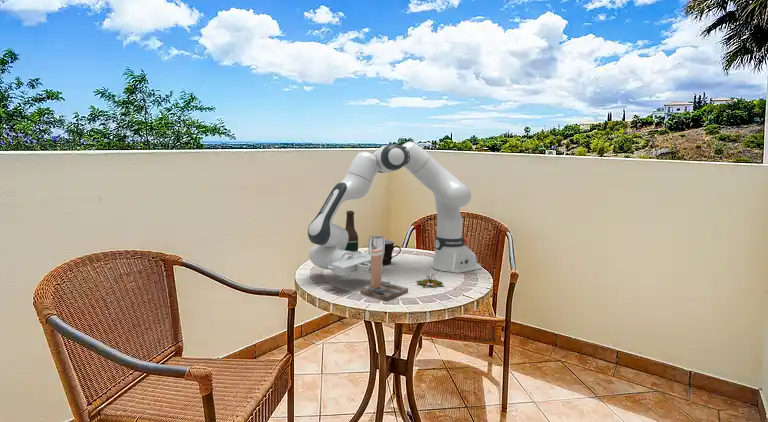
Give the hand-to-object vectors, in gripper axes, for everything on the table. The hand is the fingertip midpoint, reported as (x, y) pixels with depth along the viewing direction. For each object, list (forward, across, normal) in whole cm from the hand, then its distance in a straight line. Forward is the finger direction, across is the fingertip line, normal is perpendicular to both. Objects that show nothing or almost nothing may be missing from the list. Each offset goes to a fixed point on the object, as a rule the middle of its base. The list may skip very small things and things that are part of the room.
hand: (371, 268), depth 167 cm
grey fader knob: (+3, +5, +7) cm, 9 cm away
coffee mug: (-19, +35, +9) cm, 40 cm away
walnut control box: (+5, +1, +8) cm, 10 cm away
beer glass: (-15, +22, +9) cm, 28 cm away
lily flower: (+12, +22, +9) cm, 27 cm away
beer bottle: (-31, +23, +9) cm, 40 cm away
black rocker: (+7, -4, +6) cm, 10 cm away
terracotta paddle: (+2, 0, +7) cm, 7 cm away
